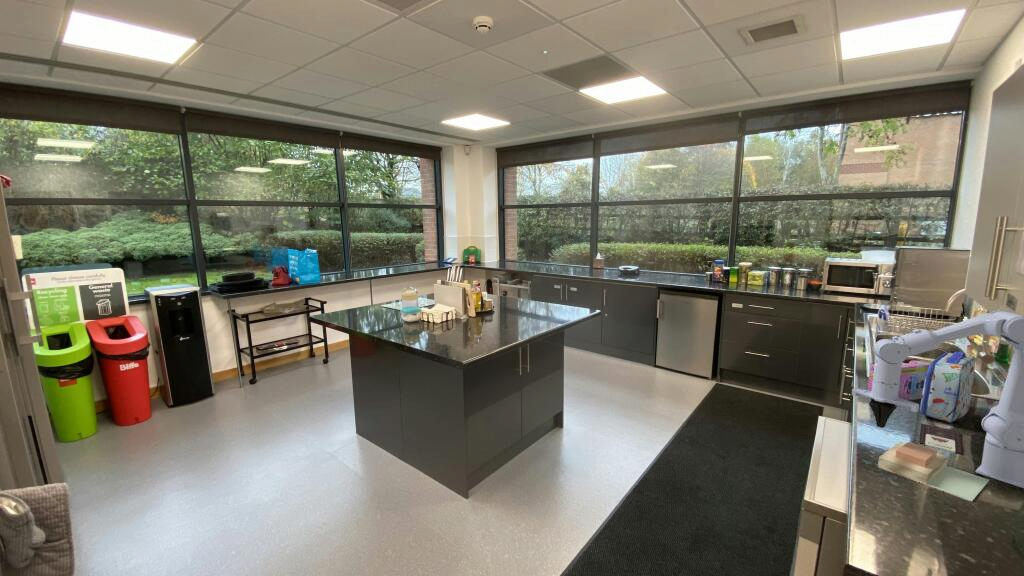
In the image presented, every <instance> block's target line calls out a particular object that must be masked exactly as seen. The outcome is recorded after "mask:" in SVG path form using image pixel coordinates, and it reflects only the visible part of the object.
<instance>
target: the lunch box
mask: <svg viewBox="0 0 1024 576" xmlns="http://www.w3.org/2000/svg"><path fill="white" fill-rule="evenodd" d="M975 361H976V360H975V358H974V357H971V356H966V355H965V351H964V352H962V351H954V352H953V353H952V352H944V353H943V354H941V355H939V356H938V357H937V358H935V359H934V360H932V361H931V362H930V363H929V364H930V366H929V368H928V371H927V372H926V374H925V376H926V378H925V383H924V388H923V392H922V399H920V405H919V410H920V413H919V414H921V415H923V416H928V417H930V418H933V419H935V420H939V421H940V420H941V421H944V422H947V423H953V422H955V421H958V420H960V419H962V418H964V416H966V415H967V413H968V411H969V410H970V406H971V405H970V404H971V394H972V391H973V386H974V385H973V384H974V378H975V372H976V371H975V367H976V362H975Z"/></svg>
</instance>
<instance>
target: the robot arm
mask: <svg viewBox="0 0 1024 576" xmlns="http://www.w3.org/2000/svg"><path fill="white" fill-rule="evenodd" d="M975 335H984V336H985V335H986V336H992V337H998V338H1003V339H1004V340H1005V341H1006V342H1007V343H1008V344H1010V346H1012V347H1013V348H1014V349H1015V350H1014V353H1013V356H1012V358H1011V359H1012V360H1011V363H1010V366H1009V370H1008V372H1007V376H1006V379H1005V382H1004V385H1003V389H1002V392H1001V396H1000V397H999V401H998V405H995V406H993V407H990V410H989V412H988V414H986V415H985V416H984V417H983V418H982V420H981V424H980V425H981V427H982V429H983V431H985V432H986V433H985V434H986V435H985V438H984V444H983V451H982V457H981V458H982V459H981V464H979V465H980V466H978V467H977V469H976V470H975V473H976V474H979V475H982V476H985V477H988V478H991V479H994V480H997V481H1000V482H1003V483H1006V484H1009V485H1012V486H1016V487H1018V488H1021V489H1024V315H1020V314H1017V313H1014V312H1011V311H1008V310H1004V309H999V310H994V311H990V312H985V313H981V314H979V315H976V316H974V317H972V318H968V319H966V320H963V321H960V322H957V323H954V324H951V325H949V326H945V327H941V328H939V329H936V330H933V331H930V330H927V329H923V328H922V329H918V328H916V329H912V332H909V333H907V334H903V335H899V336H897V335H894V336H892V337H891V339H890V338H883V339H879V340H878V341H877V342H876V343H875V344H874V345H873V346H872V352H873V354H874V355H875V359H874V363H875V364H874V373H873V382H872V391H869V390H868V389H863V388H858V387H854V388H852V390H851V396H855V397H860V398H865V399H867V400H870V401H869V403H868V405H869V407H870V409H871V410H872V413H873V415H874V419H875V421H876V422H875V423H876V427H878V428H881V429H884V428H885V427H886V425H887V422H888V420H889V418H890V416H891V415H892V414H893V412H895V410H896V409H897V408H902V409H905V410H909V411H911V412H915V413H917V412H918V411H919V410H920V404H919V403H917V402H914V401H912V400H905V399H902V398H899V397H898V392H899V383H900V374H901V362H903V361H904V360H905V359H908V357H911V356H915V355H919V354H923V353H927V352H930V351H935V350H937V349H938V347H939V346H940V345H941V343H946V342H950V341H954V340H959V339H963V338H967V337H972V336H975Z"/></svg>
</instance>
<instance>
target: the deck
mask: <svg viewBox="0 0 1024 576" xmlns="http://www.w3.org/2000/svg"><path fill="white" fill-rule="evenodd" d="M906 443H907V442H904V441H899V442H898V443H897V444H895V445H894V446H892V447H891V448H890V449H888V450H887V451H885V452H884V453H883V454H881V455H880V456H878V462H877V468H879V469H882V470H885V471H887V472H890V473H892V474H896V475H898V476H901V477H903V478H906V479H908V480H911V481H914V482H917V483H919V482H920V483H919V484H922V483H923V484H922V485H925V486H927V484H928V483H929V482H930V481H931V480H932V479H933V478H934V477H935V476H936V475H937V474H938V473H939V472H940V471H941V470H943V469H944V468H945V467H946V466H948V458H949V456H947V455H944V454H941V453H938V452H937V455H936V458H935V459H934V460H933V461H932V462H931V463H930V464H928V465H927V466H926V467H925V468H924V467H921V466H919V465H916V464H913V463H910V462H907V461H904V460H901V459H898V458H895V457H896V450H898V449H899V448H901V447H902V446H903V445H905V444H906Z"/></svg>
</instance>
